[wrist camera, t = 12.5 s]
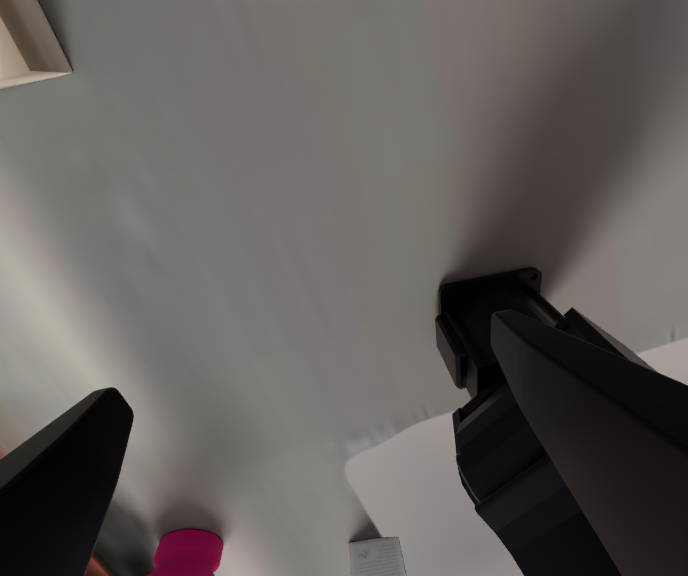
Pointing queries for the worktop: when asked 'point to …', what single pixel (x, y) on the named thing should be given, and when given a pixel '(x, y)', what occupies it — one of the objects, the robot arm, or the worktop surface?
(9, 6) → the plinth
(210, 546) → the pepper mill
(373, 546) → the syrup box
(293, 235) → the worktop surface
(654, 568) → the robot arm
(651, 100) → the worktop surface
